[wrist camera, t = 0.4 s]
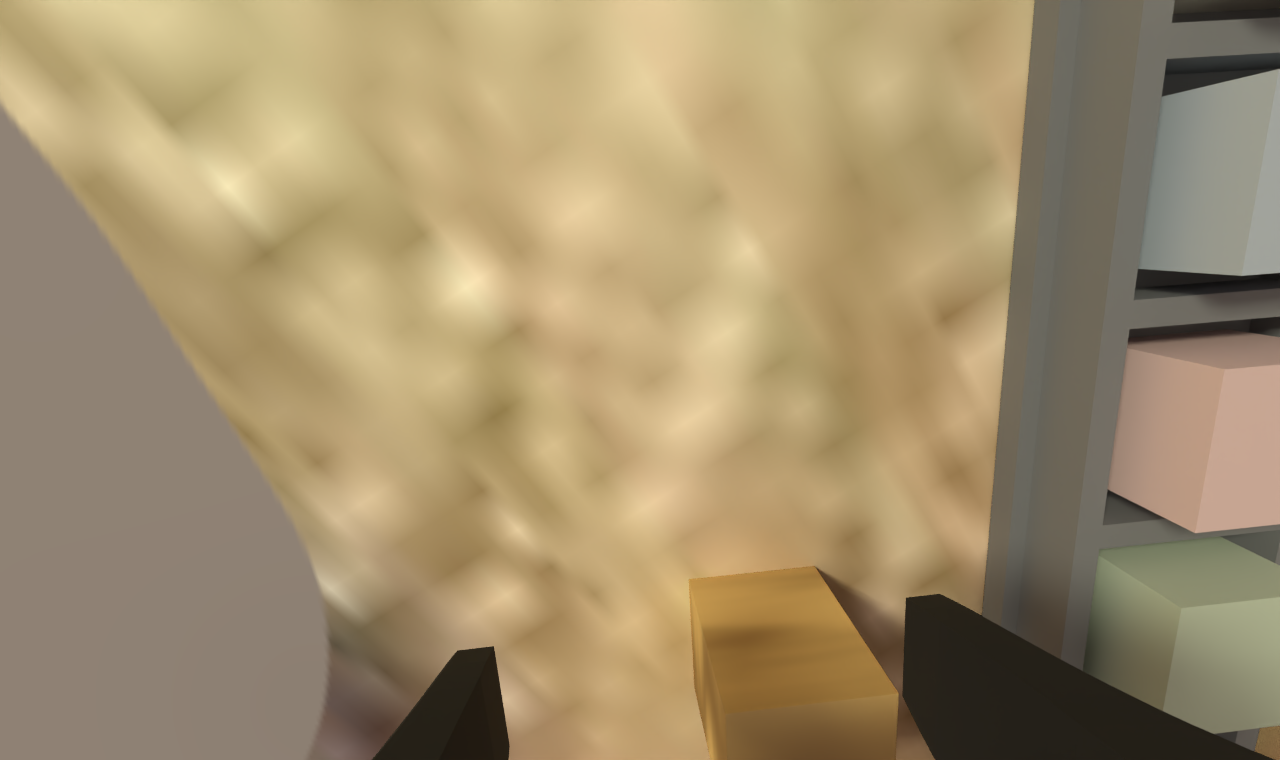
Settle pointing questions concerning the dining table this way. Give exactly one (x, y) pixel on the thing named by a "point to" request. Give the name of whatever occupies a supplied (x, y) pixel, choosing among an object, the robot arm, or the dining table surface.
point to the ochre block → (786, 672)
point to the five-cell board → (1099, 301)
